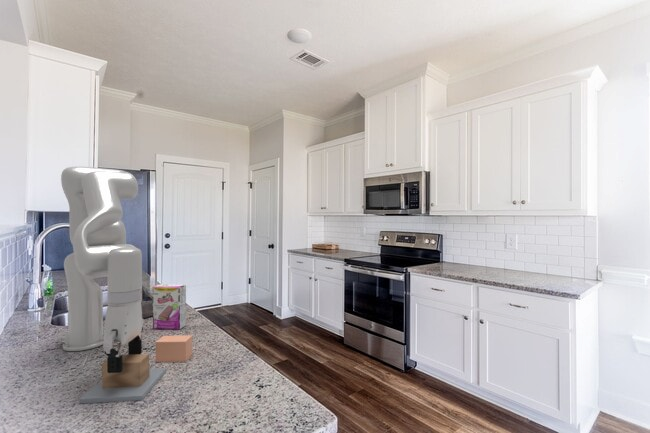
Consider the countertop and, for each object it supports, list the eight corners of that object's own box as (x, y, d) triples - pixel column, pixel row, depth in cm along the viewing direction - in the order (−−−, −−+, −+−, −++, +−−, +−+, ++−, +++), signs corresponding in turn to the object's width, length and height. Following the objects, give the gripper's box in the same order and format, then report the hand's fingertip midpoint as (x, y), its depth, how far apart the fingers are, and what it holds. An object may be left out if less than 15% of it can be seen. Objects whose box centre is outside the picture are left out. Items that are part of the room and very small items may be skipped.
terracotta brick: (155, 362, 97) (155, 342, 97) (163, 354, 102) (163, 335, 102) (186, 361, 98) (185, 341, 98) (192, 354, 103) (192, 335, 103)
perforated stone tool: (165, 311, 149) (165, 295, 149) (170, 313, 146) (170, 297, 146) (129, 319, 137) (129, 303, 137) (134, 322, 134) (134, 305, 134)
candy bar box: (152, 329, 125) (151, 286, 125) (159, 325, 130) (159, 283, 130) (179, 330, 124) (179, 287, 124) (186, 325, 129) (186, 284, 129)
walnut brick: (102, 388, 81) (101, 363, 81) (113, 378, 86) (113, 355, 86) (140, 386, 81) (140, 362, 81) (149, 376, 86) (149, 353, 86)
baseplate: (79, 403, 76) (79, 399, 76) (113, 374, 90) (113, 370, 90) (142, 400, 77) (142, 395, 77) (166, 371, 91) (166, 368, 91)
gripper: (127, 288, 92) (127, 348, 92) (88, 306, 75) (88, 381, 75) (155, 288, 92) (155, 348, 93) (122, 306, 75) (122, 379, 76)
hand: (125, 362), depth 84 cm, fingers open, 9 cm apart
